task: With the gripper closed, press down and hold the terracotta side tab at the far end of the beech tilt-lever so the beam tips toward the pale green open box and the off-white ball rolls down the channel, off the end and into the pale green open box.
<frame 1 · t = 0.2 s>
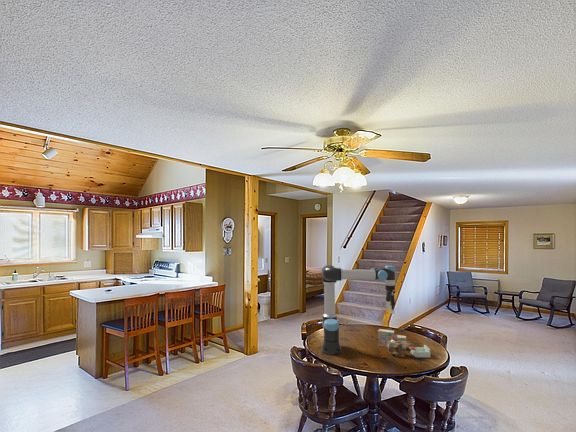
hand: (390, 311, 270), 28 cm above the table, fingers open, 13 cm apart
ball: (392, 342, 251), point 9 cm above the table, touching tilt lever
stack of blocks: (392, 347, 269), on the table
tilt lever: (401, 347, 248), point 6 cm above the table, hinge at 0.0°, touching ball
pale green open box: (420, 355, 250), on the table
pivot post: (398, 354, 251), on the table
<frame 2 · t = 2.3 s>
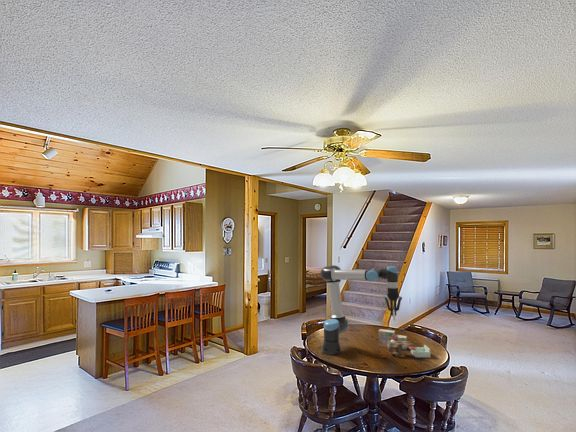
hand: (393, 320, 245), 28 cm above the table, fingers closed
nothing on the table moved.
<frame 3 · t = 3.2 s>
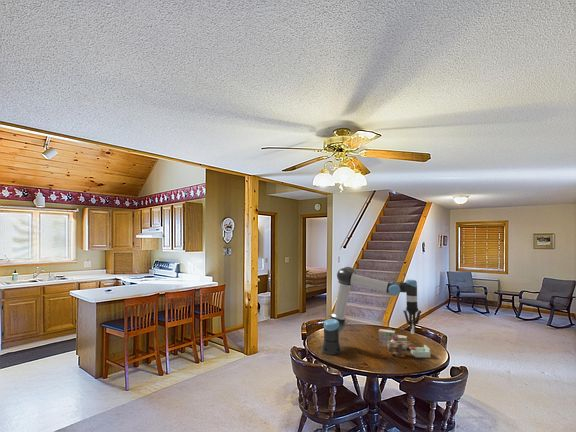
hand: (412, 333, 245), 18 cm above the table, fingers closed
nothing on the table moved.
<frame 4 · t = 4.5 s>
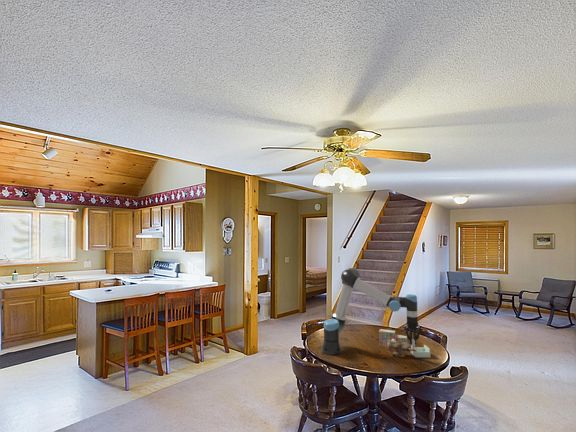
hand: (413, 348, 244), 7 cm above the table, fingers closed
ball: (393, 341, 251), point 10 cm above the table, tilted 16°, touching tilt lever
tilt lever: (401, 347, 248), point 6 cm above the table, hinge at 7.5°, touching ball, gripper
everything else where it was.
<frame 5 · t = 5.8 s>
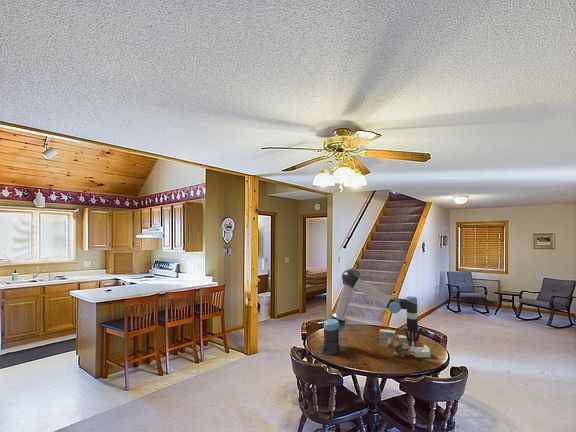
hand: (412, 350, 244), 5 cm above the table, fingers closed
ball: (424, 352, 250), point 2 cm above the table, tilted 122°, touching pale green open box
tilt lever: (401, 347, 248), point 6 cm above the table, hinge at 17.6°, touching gripper
everything else where it was.
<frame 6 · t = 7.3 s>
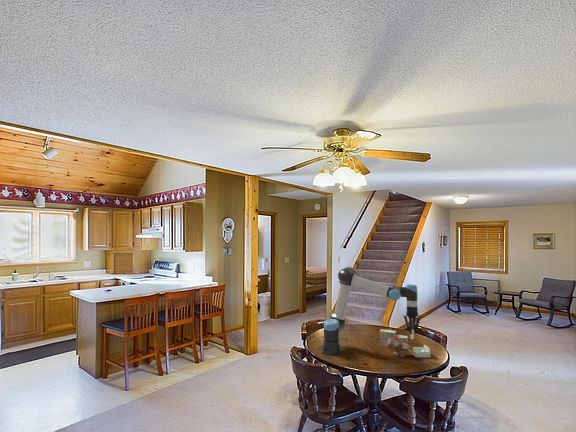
hand: (412, 338, 245), 14 cm above the table, fingers closed
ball: (423, 352, 250), point 2 cm above the table, tilted 110°, touching pale green open box
tilt lever: (401, 347, 248), point 6 cm above the table, hinge at 17.6°
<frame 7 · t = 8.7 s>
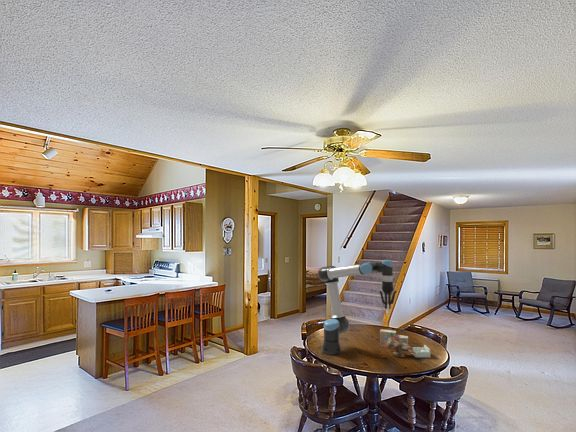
hand: (387, 313, 246), 32 cm above the table, fingers closed
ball: (423, 352, 250), point 2 cm above the table, tilted 100°, touching pale green open box
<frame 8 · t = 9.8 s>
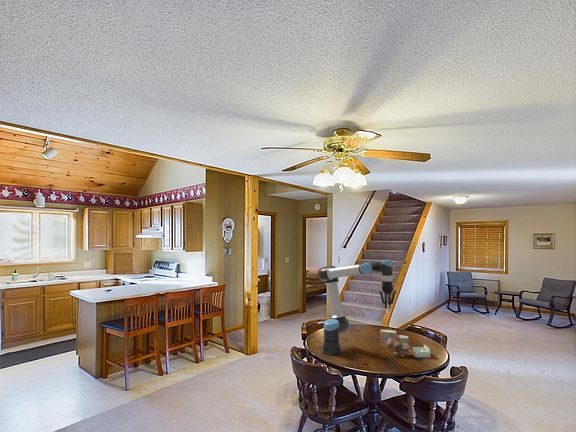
hand: (387, 313, 246), 32 cm above the table, fingers closed
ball: (422, 352, 250), point 2 cm above the table, tilted 91°, touching pale green open box
at the end: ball inside the target area on the pale green open box (1.8 cm from its centre), point 2.2 cm above the pale green open box's base; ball touching pale green open box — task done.
